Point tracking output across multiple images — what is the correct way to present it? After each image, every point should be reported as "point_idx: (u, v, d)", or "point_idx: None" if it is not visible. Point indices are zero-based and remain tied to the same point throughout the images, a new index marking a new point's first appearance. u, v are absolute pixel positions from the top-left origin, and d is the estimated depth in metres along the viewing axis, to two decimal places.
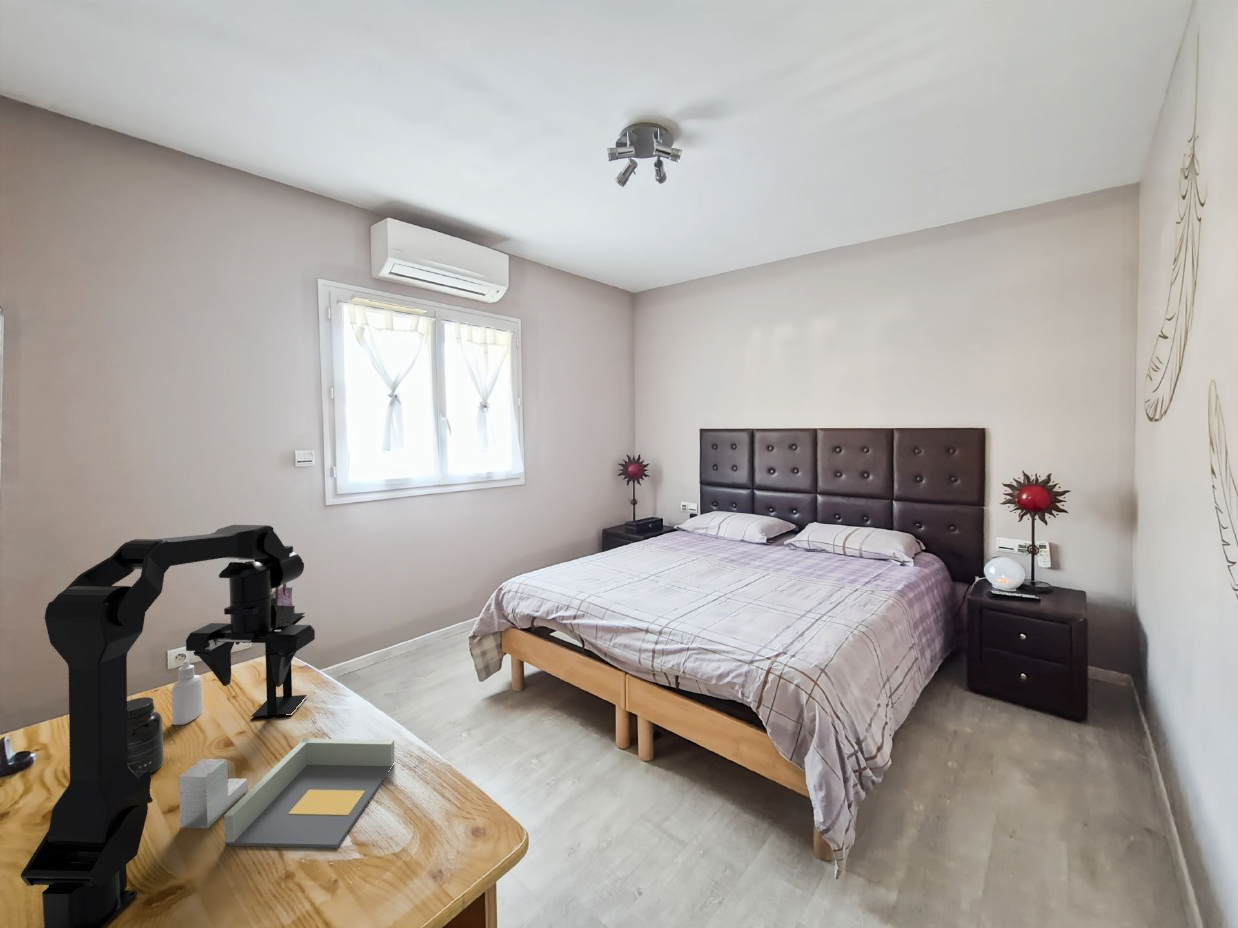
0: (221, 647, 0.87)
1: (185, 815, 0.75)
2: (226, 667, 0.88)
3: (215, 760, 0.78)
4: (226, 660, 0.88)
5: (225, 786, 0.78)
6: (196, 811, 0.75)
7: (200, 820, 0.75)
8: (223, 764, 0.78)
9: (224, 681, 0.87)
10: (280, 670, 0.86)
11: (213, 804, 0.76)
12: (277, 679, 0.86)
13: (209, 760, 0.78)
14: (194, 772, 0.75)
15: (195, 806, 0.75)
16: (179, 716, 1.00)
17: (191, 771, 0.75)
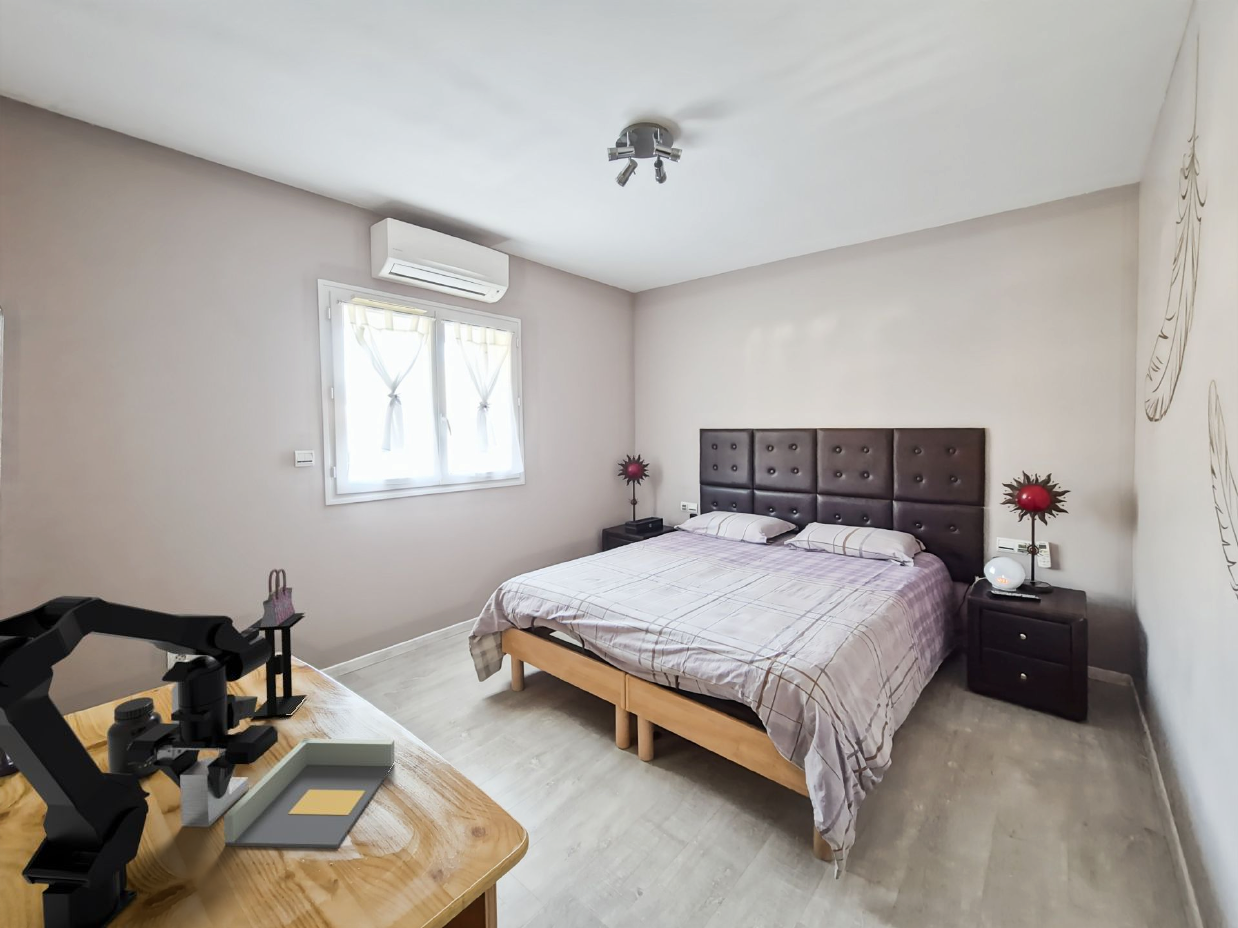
0: (186, 754, 0.76)
1: (186, 814, 0.75)
2: None
3: None
4: None
5: None
6: (197, 809, 0.75)
7: (201, 818, 0.75)
8: None
9: None
10: (220, 781, 0.75)
11: (214, 802, 0.76)
12: (217, 791, 0.76)
13: (210, 759, 0.78)
14: (195, 770, 0.75)
15: (196, 804, 0.75)
16: None
17: (192, 769, 0.76)
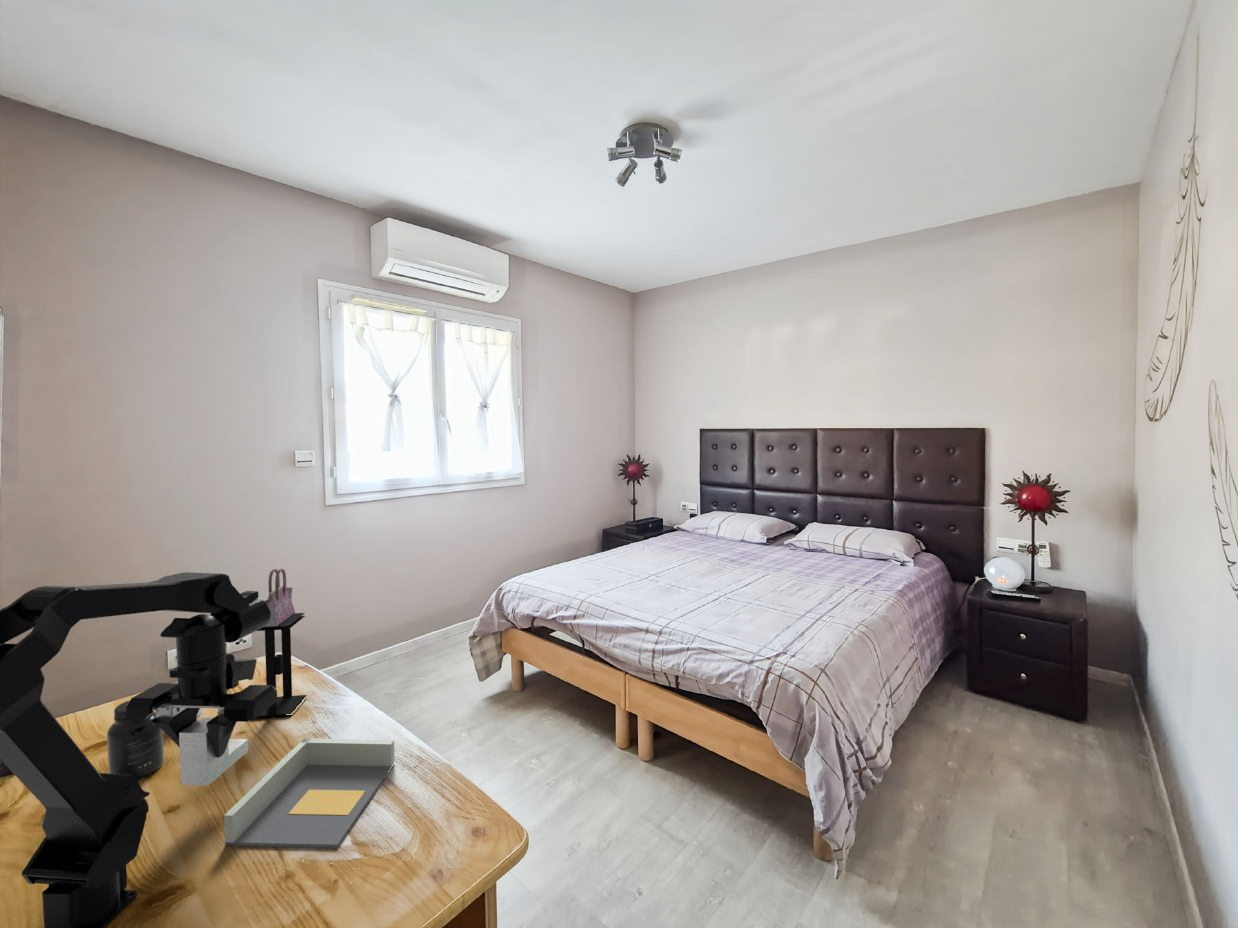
0: (185, 713, 0.76)
1: (185, 772, 0.75)
2: None
3: None
4: None
5: None
6: (196, 767, 0.75)
7: (200, 777, 0.75)
8: None
9: None
10: (219, 739, 0.75)
11: (213, 761, 0.76)
12: (216, 749, 0.75)
13: (209, 719, 0.78)
14: (194, 729, 0.75)
15: (195, 762, 0.74)
16: None
17: (192, 728, 0.75)
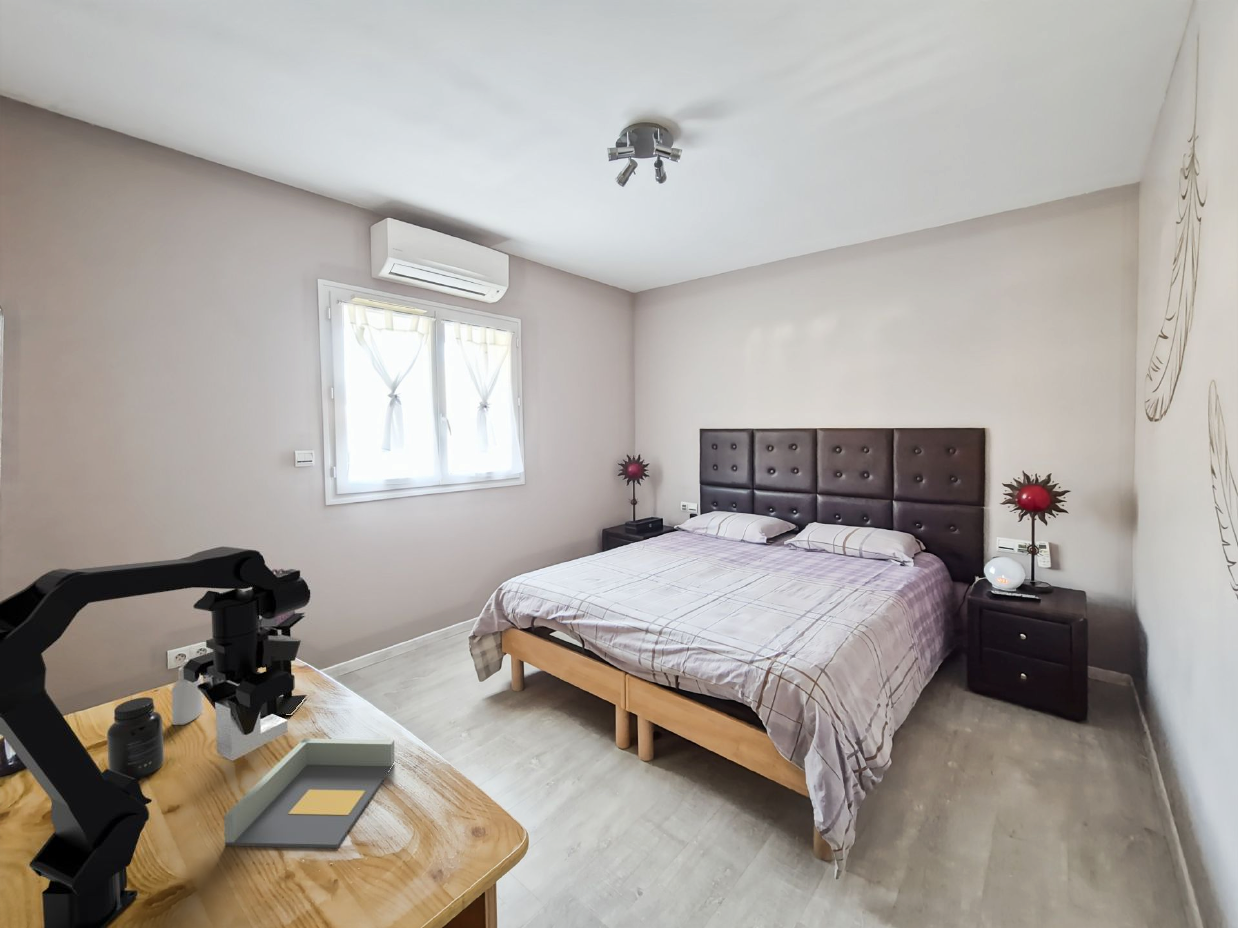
0: (226, 683, 0.78)
1: (219, 742, 0.76)
2: None
3: None
4: None
5: (257, 722, 0.78)
6: (225, 740, 0.75)
7: (228, 750, 0.75)
8: None
9: None
10: (241, 718, 0.74)
11: (240, 737, 0.75)
12: (241, 727, 0.75)
13: None
14: None
15: (224, 735, 0.75)
16: (179, 716, 1.00)
17: None
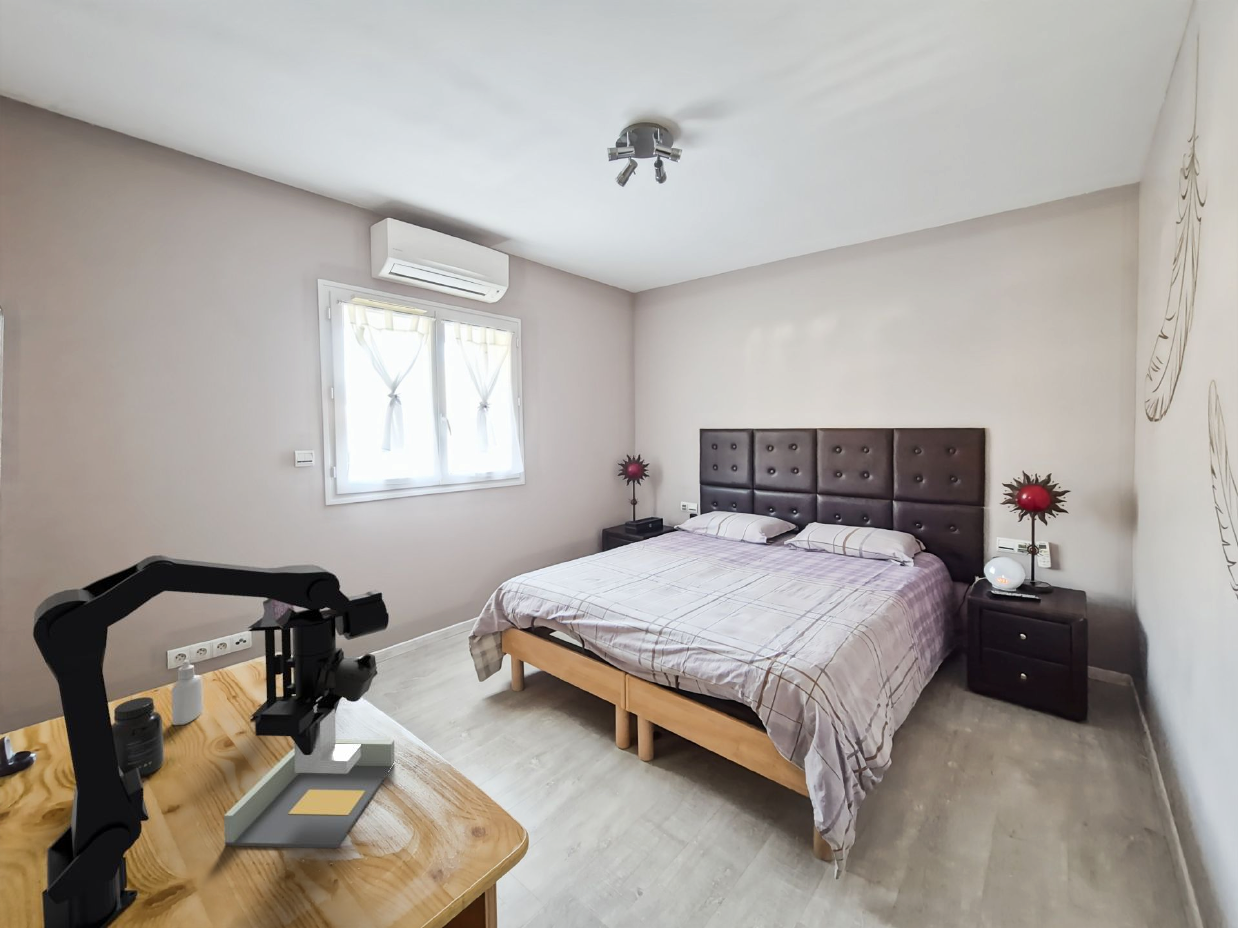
0: None
1: None
2: None
3: (324, 716, 0.78)
4: None
5: (317, 748, 0.77)
6: None
7: None
8: (315, 724, 0.77)
9: None
10: (293, 736, 0.75)
11: (302, 754, 0.77)
12: None
13: (326, 713, 0.79)
14: None
15: None
16: (179, 716, 1.00)
17: None
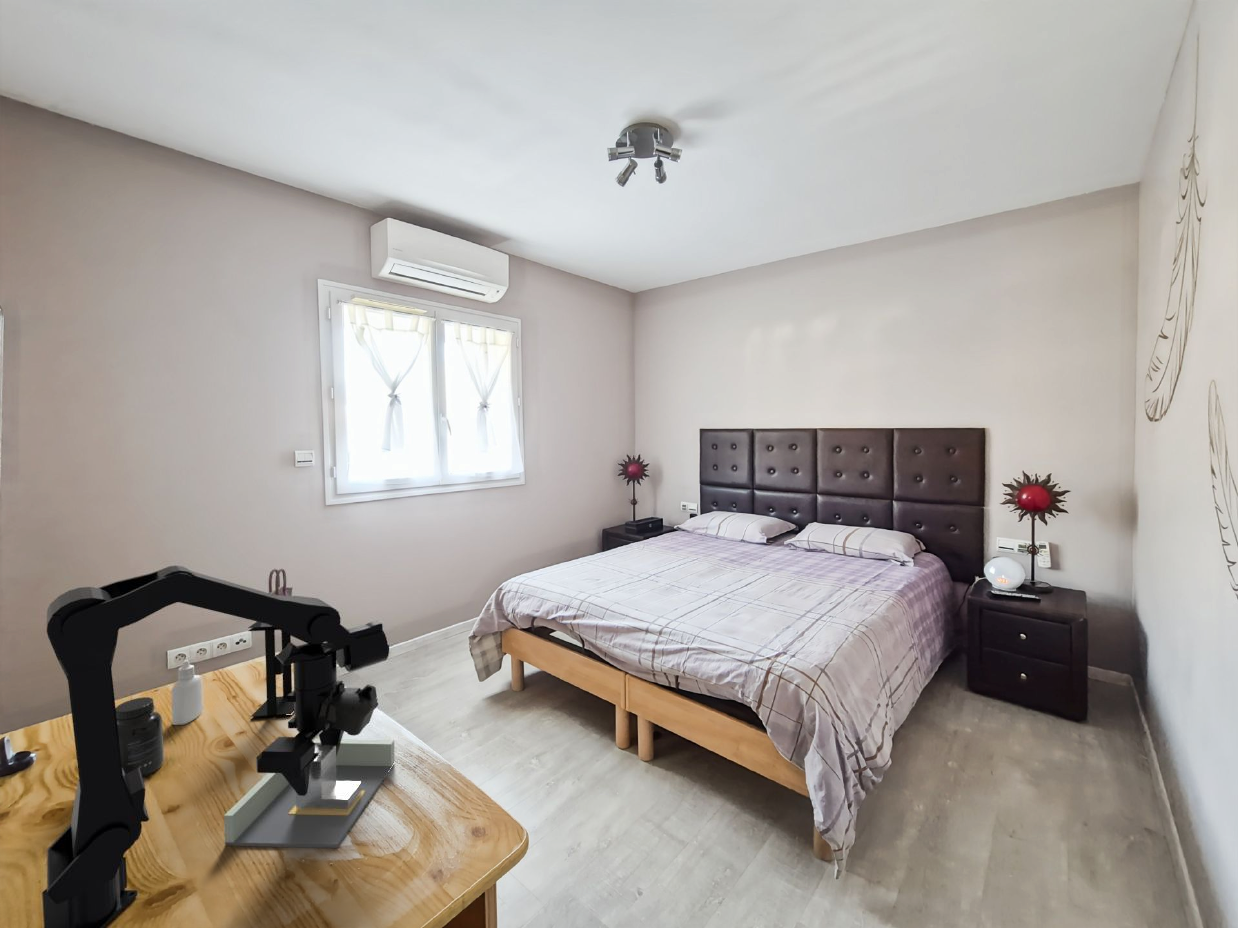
0: None
1: None
2: (330, 744, 0.83)
3: (325, 754, 0.79)
4: (333, 737, 0.83)
5: (318, 786, 0.77)
6: None
7: None
8: (316, 763, 0.77)
9: None
10: (287, 778, 0.74)
11: None
12: None
13: (327, 751, 0.79)
14: None
15: None
16: (179, 716, 1.00)
17: None
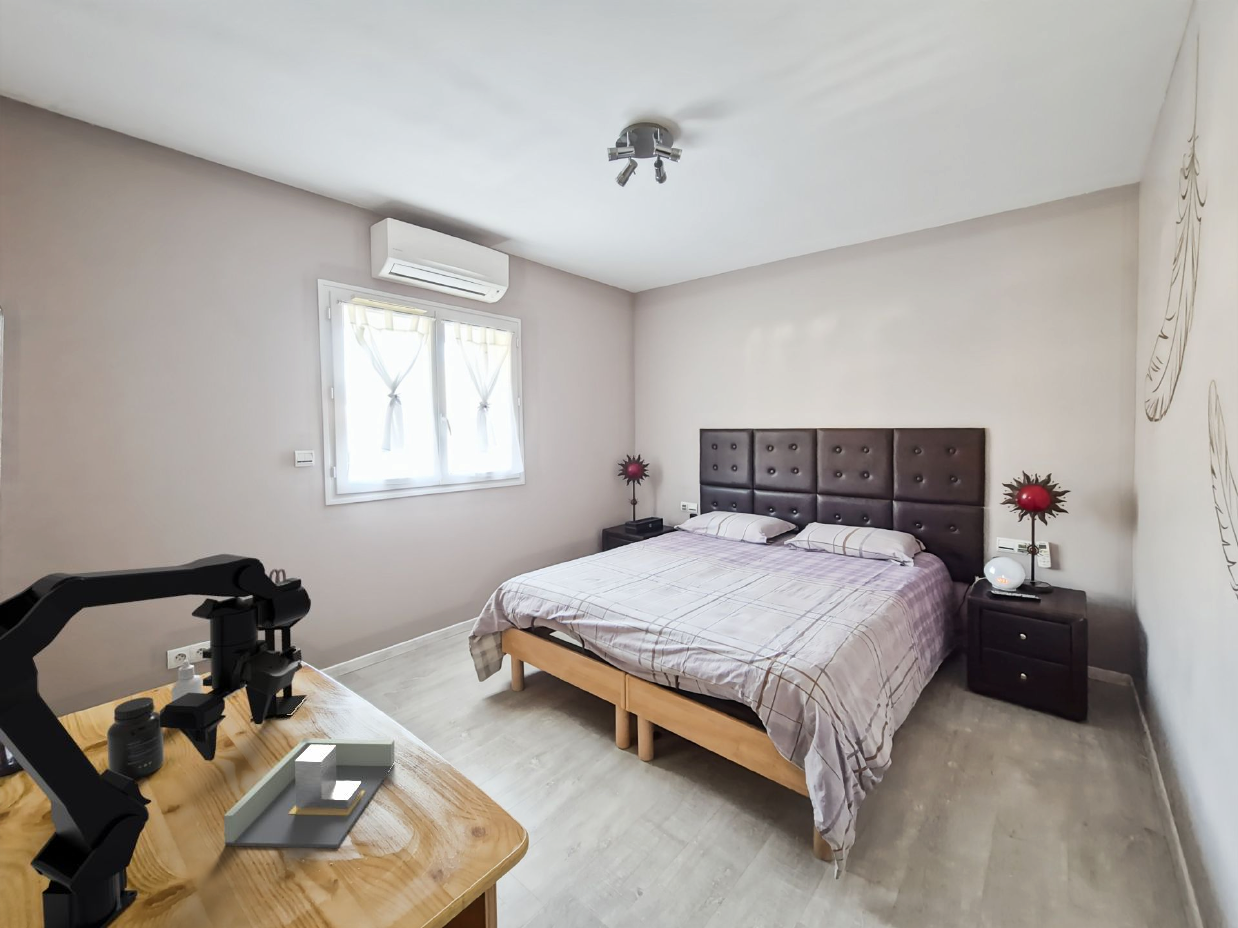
0: None
1: None
2: (258, 705, 0.81)
3: (325, 754, 0.79)
4: (261, 697, 0.81)
5: (318, 786, 0.77)
6: None
7: None
8: (316, 763, 0.77)
9: (253, 718, 0.80)
10: (192, 740, 0.70)
11: (303, 793, 0.77)
12: None
13: (327, 751, 0.79)
14: (310, 750, 0.79)
15: None
16: None
17: (314, 748, 0.80)
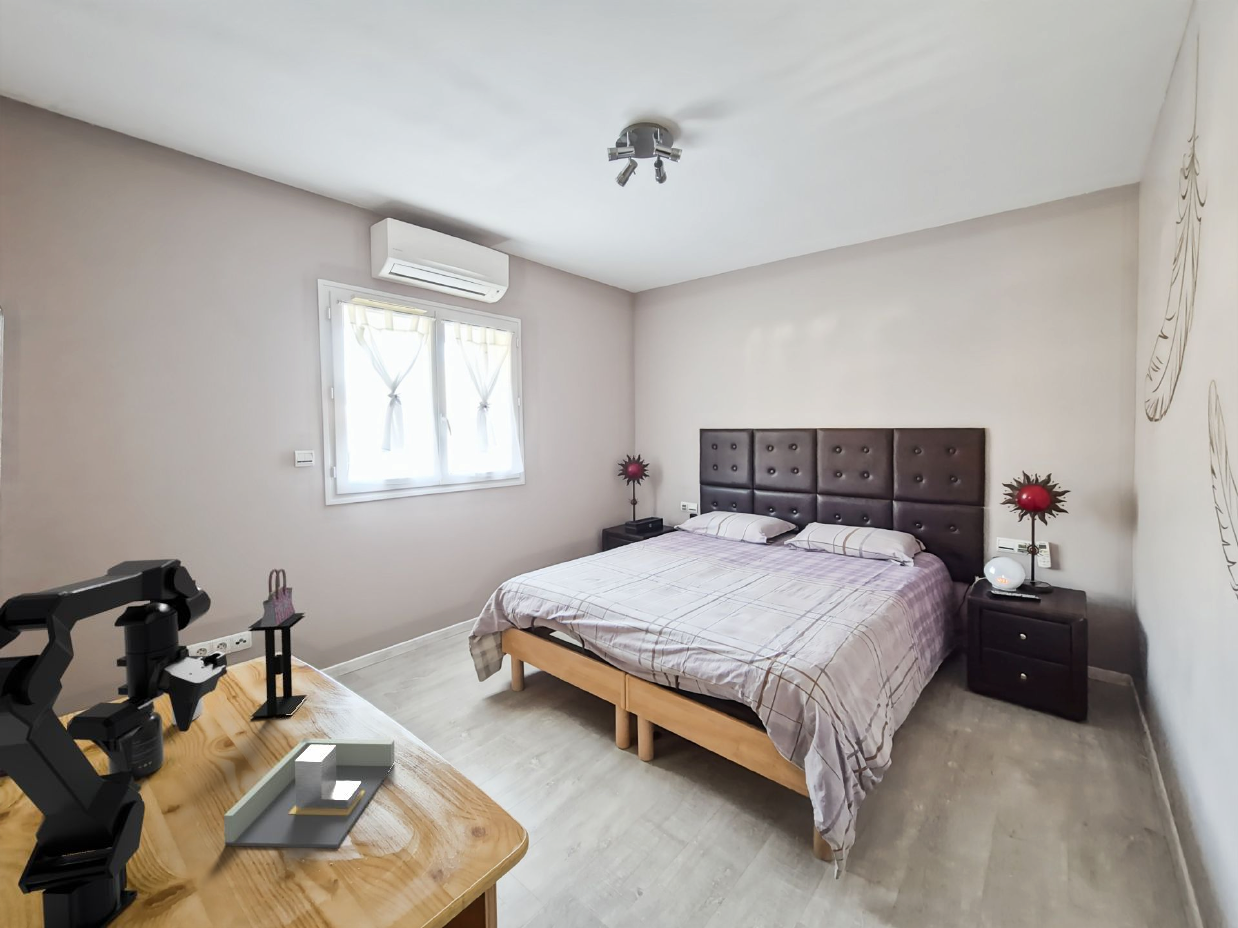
0: None
1: None
2: (183, 711, 0.78)
3: (325, 754, 0.79)
4: (186, 704, 0.78)
5: (318, 786, 0.77)
6: None
7: None
8: (316, 763, 0.77)
9: (177, 725, 0.78)
10: (105, 751, 0.68)
11: (303, 793, 0.77)
12: None
13: (327, 751, 0.79)
14: (310, 750, 0.79)
15: None
16: None
17: (314, 748, 0.80)
